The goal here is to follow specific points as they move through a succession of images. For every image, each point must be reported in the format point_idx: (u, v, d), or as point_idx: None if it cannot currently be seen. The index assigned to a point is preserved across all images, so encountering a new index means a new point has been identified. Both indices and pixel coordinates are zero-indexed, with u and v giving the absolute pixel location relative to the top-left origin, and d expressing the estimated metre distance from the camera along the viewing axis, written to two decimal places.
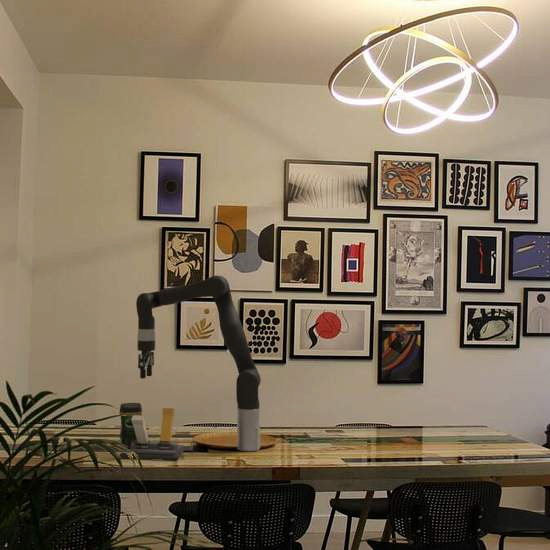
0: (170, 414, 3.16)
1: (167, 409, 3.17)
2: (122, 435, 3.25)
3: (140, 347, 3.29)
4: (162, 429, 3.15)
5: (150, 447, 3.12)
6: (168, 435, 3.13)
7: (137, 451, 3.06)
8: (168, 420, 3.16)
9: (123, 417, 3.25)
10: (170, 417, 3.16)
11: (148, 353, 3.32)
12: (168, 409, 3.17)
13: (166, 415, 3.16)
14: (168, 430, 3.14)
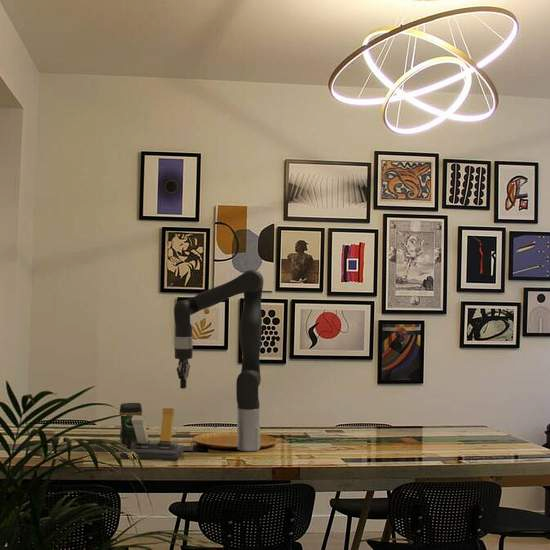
0: (170, 414, 3.16)
1: (167, 409, 3.17)
2: (122, 435, 3.25)
3: (178, 355, 3.26)
4: (162, 429, 3.15)
5: (150, 447, 3.12)
6: (168, 435, 3.13)
7: (137, 451, 3.06)
8: (168, 420, 3.16)
9: (123, 417, 3.25)
10: (170, 417, 3.16)
11: (185, 361, 3.29)
12: (168, 409, 3.17)
13: (166, 415, 3.16)
14: (168, 430, 3.14)
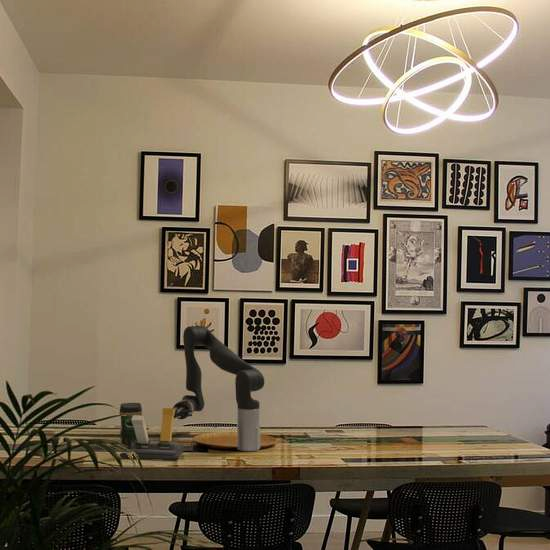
0: (170, 414, 3.16)
1: (167, 409, 3.17)
2: (122, 435, 3.25)
3: None
4: (162, 429, 3.15)
5: (150, 447, 3.12)
6: (168, 435, 3.13)
7: (137, 451, 3.06)
8: (168, 420, 3.16)
9: (123, 417, 3.25)
10: (170, 417, 3.16)
11: (179, 408, 3.36)
12: (168, 409, 3.17)
13: (166, 415, 3.16)
14: (168, 430, 3.14)
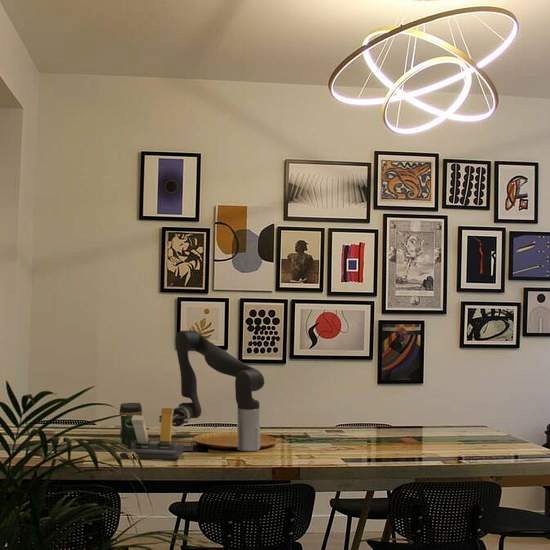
0: (169, 414, 3.15)
1: (166, 409, 3.15)
2: (122, 435, 3.25)
3: None
4: (161, 429, 3.14)
5: (150, 447, 3.12)
6: (168, 435, 3.13)
7: (137, 451, 3.06)
8: (167, 420, 3.14)
9: (123, 417, 3.25)
10: (169, 417, 3.15)
11: None
12: (167, 409, 3.15)
13: (165, 415, 3.15)
14: (168, 430, 3.13)
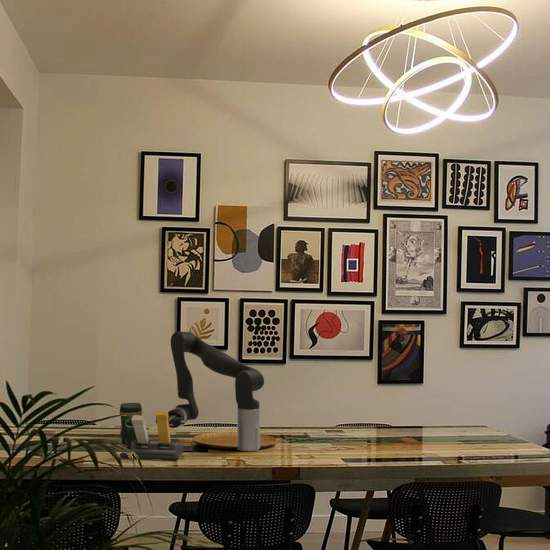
0: (164, 420, 3.08)
1: (160, 415, 3.07)
2: (122, 435, 3.25)
3: None
4: (159, 433, 3.11)
5: (150, 447, 3.12)
6: (166, 438, 3.11)
7: (137, 451, 3.06)
8: (163, 425, 3.09)
9: (123, 417, 3.25)
10: (165, 422, 3.09)
11: (171, 417, 3.23)
12: (161, 416, 3.07)
13: (160, 421, 3.08)
14: (165, 434, 3.10)
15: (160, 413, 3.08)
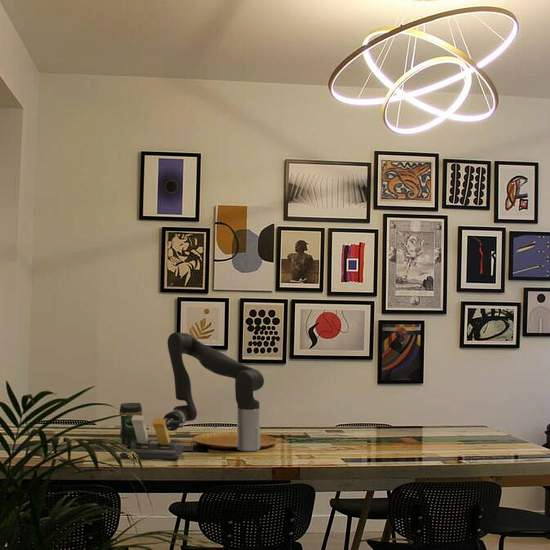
0: (162, 427, 3.05)
1: (157, 424, 3.04)
2: (122, 435, 3.25)
3: None
4: (158, 437, 3.09)
5: (150, 447, 3.12)
6: (166, 441, 3.10)
7: (137, 451, 3.06)
8: (161, 431, 3.07)
9: (123, 417, 3.25)
10: (163, 429, 3.06)
11: (169, 419, 3.21)
12: (158, 424, 3.04)
13: (158, 428, 3.05)
14: (164, 437, 3.09)
15: (157, 421, 3.04)
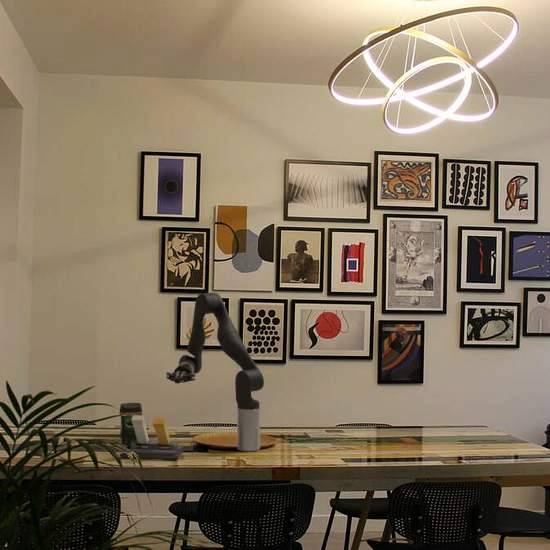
0: (162, 427, 3.05)
1: (157, 424, 3.04)
2: (122, 435, 3.25)
3: None
4: (158, 437, 3.09)
5: (150, 447, 3.12)
6: (166, 441, 3.10)
7: (137, 451, 3.06)
8: (161, 431, 3.07)
9: (123, 417, 3.25)
10: (163, 429, 3.06)
11: (181, 372, 3.34)
12: (158, 424, 3.04)
13: (158, 428, 3.05)
14: (164, 437, 3.09)
15: (157, 421, 3.04)
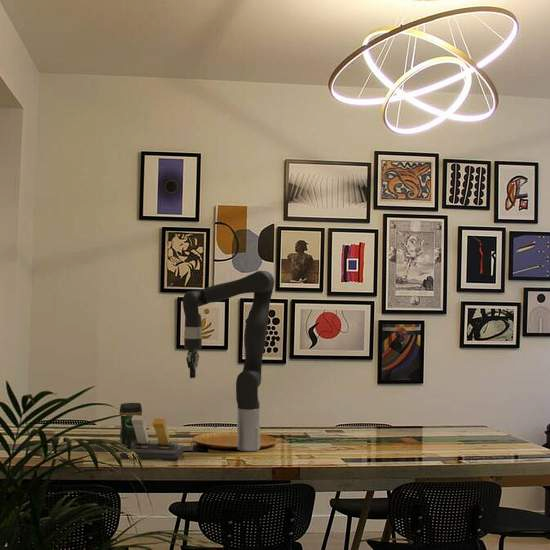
0: (162, 427, 3.05)
1: (157, 424, 3.04)
2: (122, 435, 3.25)
3: (187, 345, 3.30)
4: (158, 437, 3.09)
5: (150, 447, 3.12)
6: (166, 441, 3.10)
7: (137, 451, 3.06)
8: (161, 431, 3.07)
9: (123, 417, 3.25)
10: (163, 429, 3.06)
11: (195, 351, 3.32)
12: (158, 424, 3.04)
13: (158, 428, 3.05)
14: (164, 437, 3.09)
15: (157, 421, 3.04)
